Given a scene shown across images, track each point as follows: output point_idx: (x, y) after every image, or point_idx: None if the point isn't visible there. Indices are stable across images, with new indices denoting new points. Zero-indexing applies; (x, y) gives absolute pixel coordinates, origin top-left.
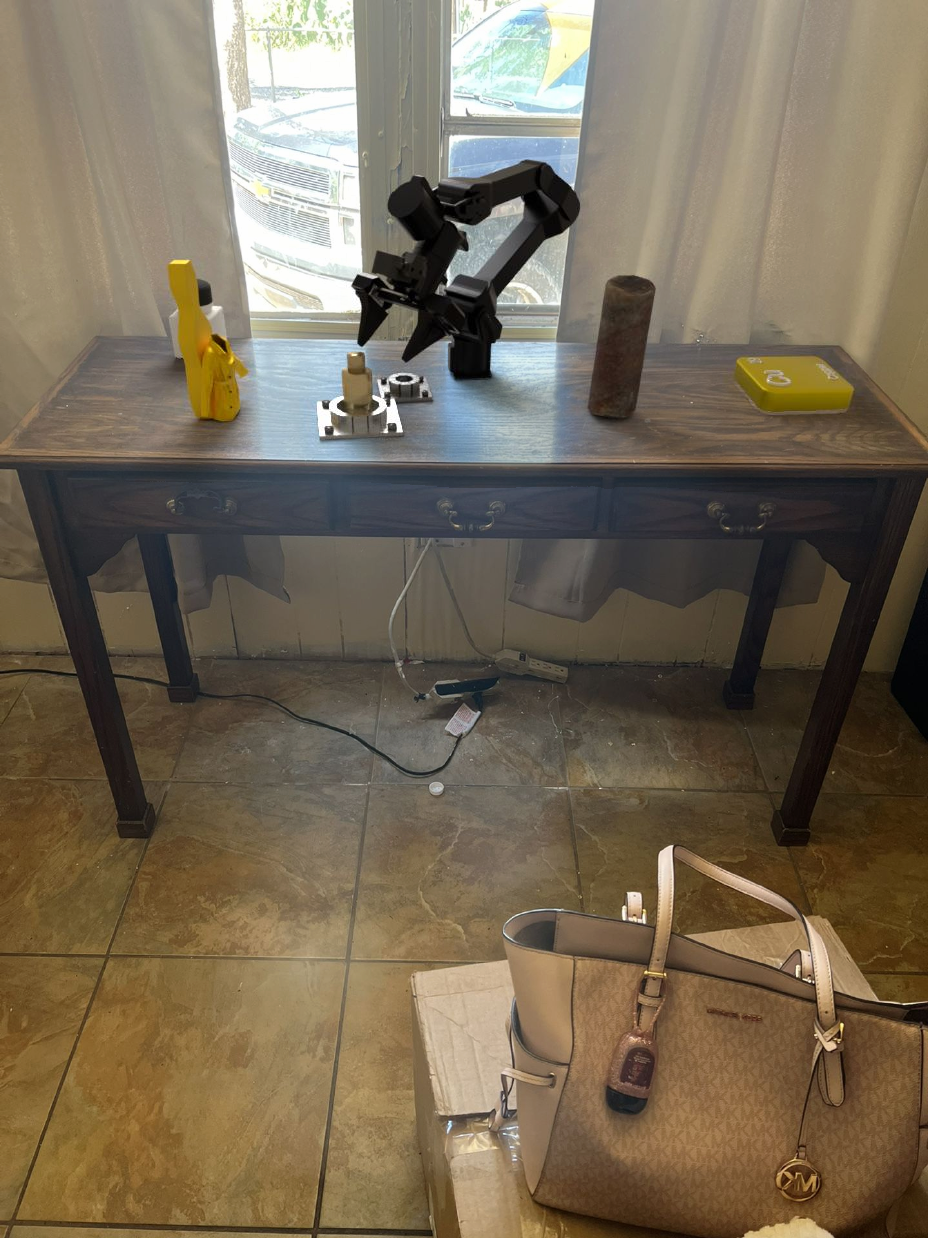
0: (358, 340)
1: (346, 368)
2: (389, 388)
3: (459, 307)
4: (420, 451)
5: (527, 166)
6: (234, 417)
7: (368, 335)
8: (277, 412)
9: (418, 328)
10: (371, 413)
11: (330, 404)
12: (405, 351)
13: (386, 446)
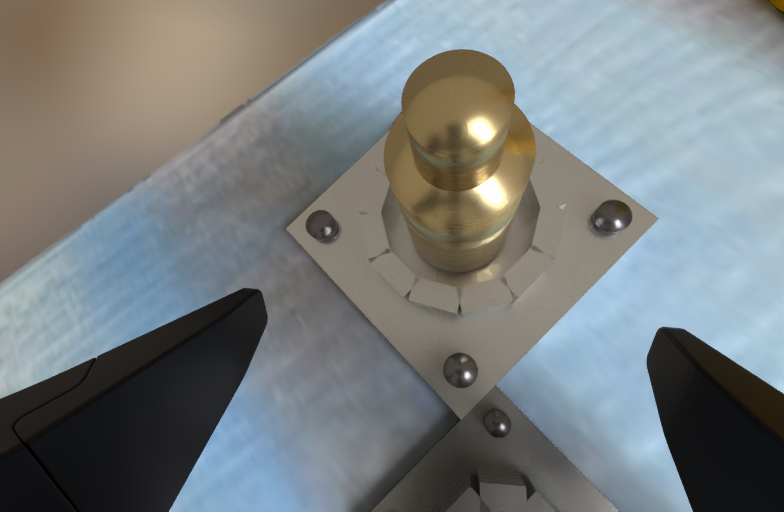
0: (683, 337)
1: (524, 143)
2: (538, 488)
3: None
4: (206, 193)
5: None
6: (773, 4)
7: (688, 447)
8: (708, 109)
9: (11, 420)
10: (378, 192)
11: (538, 155)
12: (220, 307)
13: (291, 159)
